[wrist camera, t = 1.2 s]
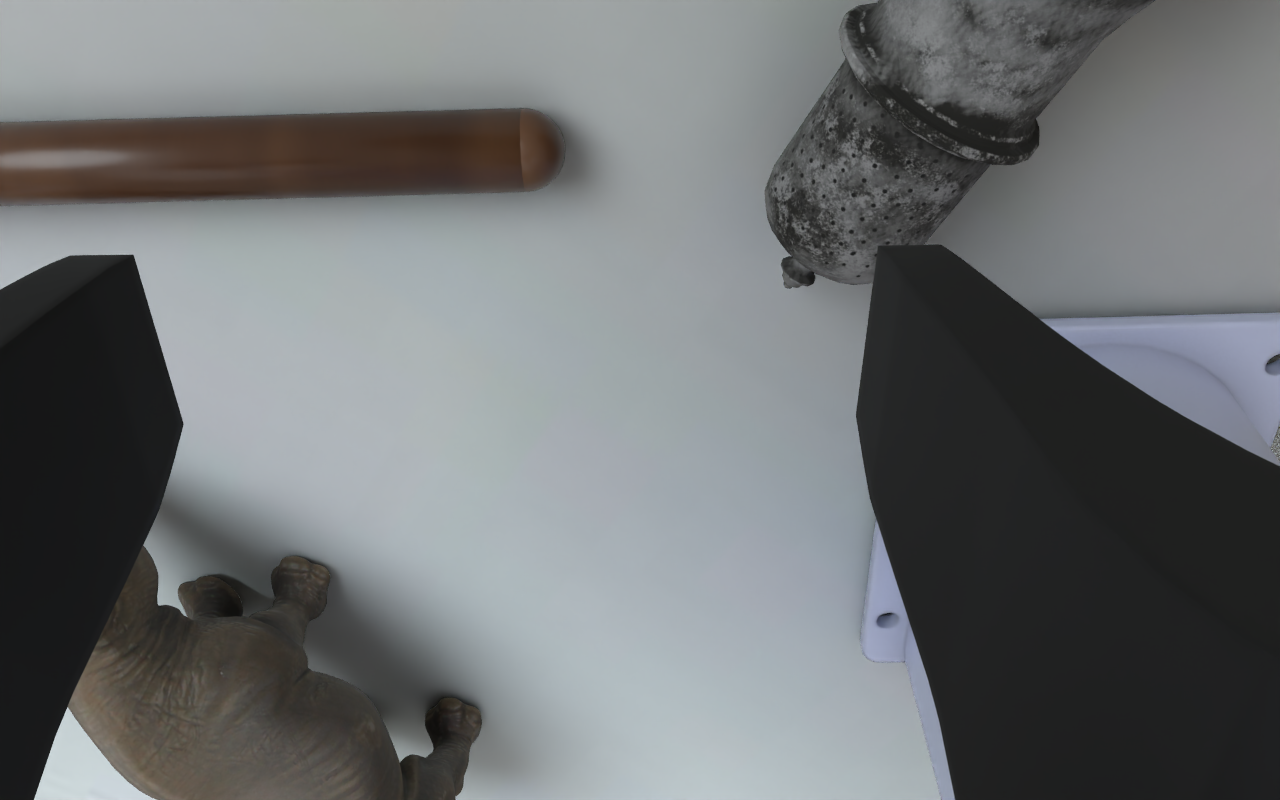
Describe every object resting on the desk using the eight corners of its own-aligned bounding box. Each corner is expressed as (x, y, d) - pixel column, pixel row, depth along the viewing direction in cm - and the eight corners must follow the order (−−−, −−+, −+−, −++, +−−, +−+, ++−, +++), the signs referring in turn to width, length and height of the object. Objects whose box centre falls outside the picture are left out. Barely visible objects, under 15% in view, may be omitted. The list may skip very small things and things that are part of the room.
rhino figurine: (86, 342, 23) (-55, 555, 18) (514, 712, 30) (495, 939, 25) (-49, 436, 24) (-214, 659, 19) (391, 770, 31) (350, 996, 26)
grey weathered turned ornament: (1189, -540, 16) (750, 141, 24) (1048, -651, 11) (572, 225, 19) (1562, -283, 15) (970, 338, 23) (1559, -299, 10) (832, 473, 18)
